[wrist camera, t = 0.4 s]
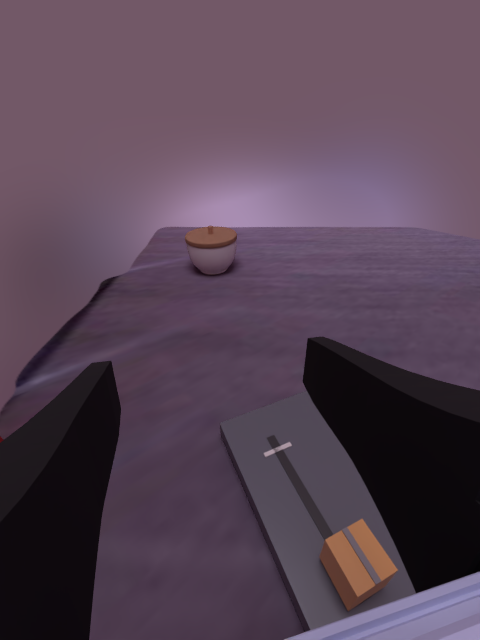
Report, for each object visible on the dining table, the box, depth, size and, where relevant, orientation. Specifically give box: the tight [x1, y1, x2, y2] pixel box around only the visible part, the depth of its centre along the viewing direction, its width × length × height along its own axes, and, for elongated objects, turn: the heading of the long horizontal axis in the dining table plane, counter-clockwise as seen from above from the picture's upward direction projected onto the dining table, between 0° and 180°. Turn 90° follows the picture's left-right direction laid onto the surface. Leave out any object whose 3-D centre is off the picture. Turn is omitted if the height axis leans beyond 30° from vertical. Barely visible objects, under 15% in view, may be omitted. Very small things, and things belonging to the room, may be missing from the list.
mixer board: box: [220, 391, 416, 632], centre depth 26 cm, size 20×18×2 cm
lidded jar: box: [185, 226, 237, 275], centre depth 64 cm, size 11×11×9 cm
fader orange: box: [319, 519, 398, 611], centre depth 19 cm, size 3×3×3 cm
